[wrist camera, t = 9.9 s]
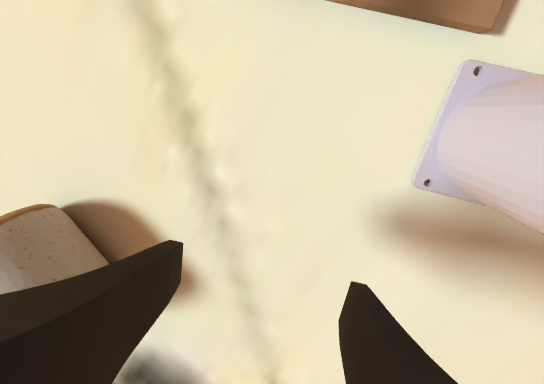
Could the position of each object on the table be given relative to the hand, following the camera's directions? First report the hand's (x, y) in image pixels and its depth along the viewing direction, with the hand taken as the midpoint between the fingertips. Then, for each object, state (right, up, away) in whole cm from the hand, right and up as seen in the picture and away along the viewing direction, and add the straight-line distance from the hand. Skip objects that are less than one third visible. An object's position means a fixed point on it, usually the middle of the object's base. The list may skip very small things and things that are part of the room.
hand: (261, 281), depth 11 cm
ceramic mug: (-18, -2, +13) cm, 23 cm away
